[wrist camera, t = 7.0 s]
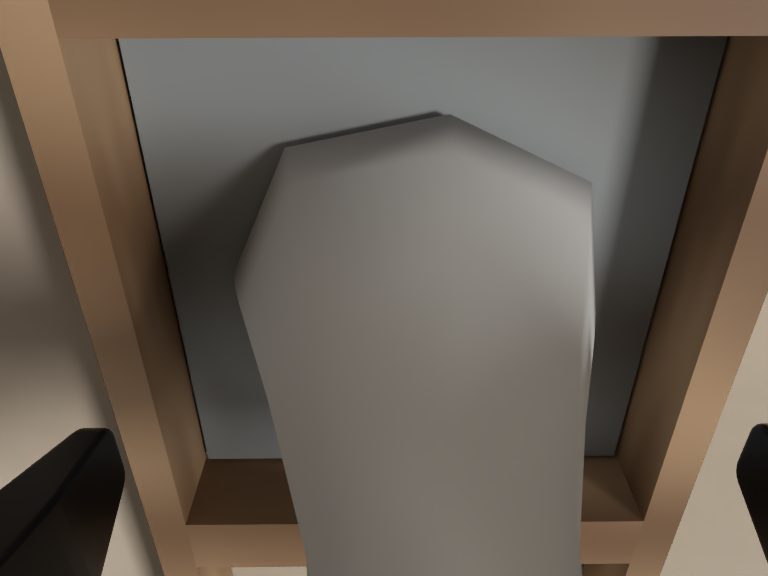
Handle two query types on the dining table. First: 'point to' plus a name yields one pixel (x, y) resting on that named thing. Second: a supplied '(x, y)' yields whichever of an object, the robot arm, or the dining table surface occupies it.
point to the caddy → (373, 111)
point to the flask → (426, 349)
